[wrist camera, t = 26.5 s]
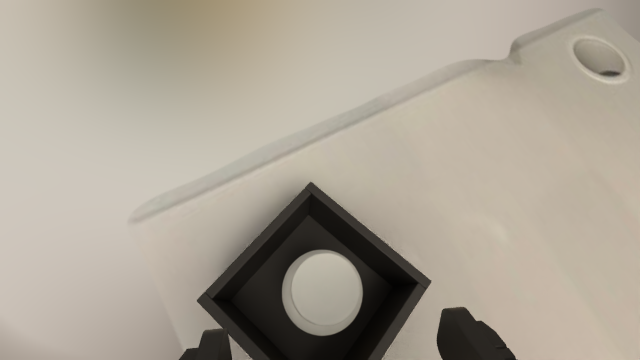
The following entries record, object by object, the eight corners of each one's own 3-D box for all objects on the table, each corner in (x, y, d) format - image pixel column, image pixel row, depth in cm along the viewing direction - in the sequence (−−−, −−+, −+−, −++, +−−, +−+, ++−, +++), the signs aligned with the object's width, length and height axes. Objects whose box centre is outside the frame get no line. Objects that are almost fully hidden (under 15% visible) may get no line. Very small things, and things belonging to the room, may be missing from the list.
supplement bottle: (358, 283, 26) (389, 272, 17) (327, 342, 24) (345, 363, 15) (306, 251, 27) (311, 224, 18) (272, 305, 25) (260, 305, 16)
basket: (320, 404, 23) (329, 439, 17) (219, 301, 25) (196, 300, 19) (401, 286, 27) (432, 281, 21) (307, 206, 29) (310, 181, 23)
